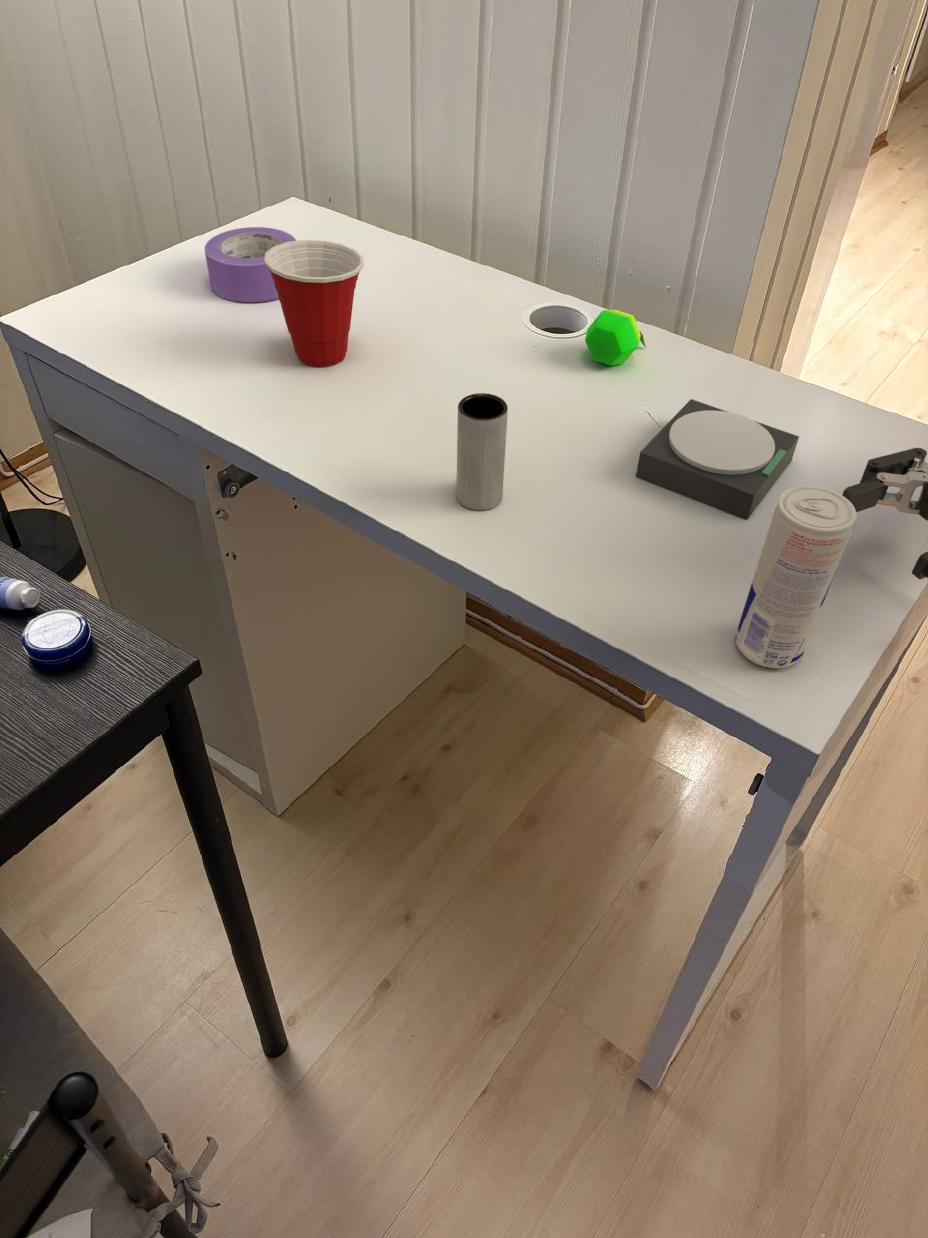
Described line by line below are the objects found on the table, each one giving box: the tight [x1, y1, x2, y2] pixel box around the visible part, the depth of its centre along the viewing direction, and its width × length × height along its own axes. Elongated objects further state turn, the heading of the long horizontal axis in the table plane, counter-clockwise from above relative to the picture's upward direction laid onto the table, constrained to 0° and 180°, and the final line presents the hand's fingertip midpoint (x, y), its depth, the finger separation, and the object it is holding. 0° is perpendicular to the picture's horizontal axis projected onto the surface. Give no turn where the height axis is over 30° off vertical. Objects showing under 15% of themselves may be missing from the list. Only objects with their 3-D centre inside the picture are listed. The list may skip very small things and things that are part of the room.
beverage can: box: [734, 484, 857, 669], centre depth 75 cm, size 6×6×15 cm
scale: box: [635, 398, 800, 521], centre depth 96 cm, size 12×12×4 cm
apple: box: [584, 309, 647, 366], centre depth 111 cm, size 7×6×9 cm
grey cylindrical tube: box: [455, 392, 509, 511], centre depth 90 cm, size 4×4×10 cm
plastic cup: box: [265, 239, 365, 368], centre depth 108 cm, size 11×11×12 cm
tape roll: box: [204, 226, 297, 303], centre depth 123 cm, size 12×12×5 cm
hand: (879, 535), depth 76 cm, fingers open, 8 cm apart
